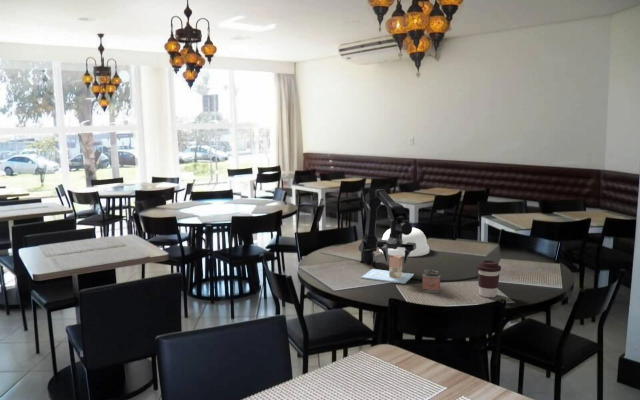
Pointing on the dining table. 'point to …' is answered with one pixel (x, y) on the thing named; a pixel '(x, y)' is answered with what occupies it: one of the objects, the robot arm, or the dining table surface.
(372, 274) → the blueprint board
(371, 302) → the dining table surface
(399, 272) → the birch block
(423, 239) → the dome cover
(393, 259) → the peach block
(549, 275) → the dining table surface
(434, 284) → the lighter
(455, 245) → the dining table surface
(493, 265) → the coffee cup
